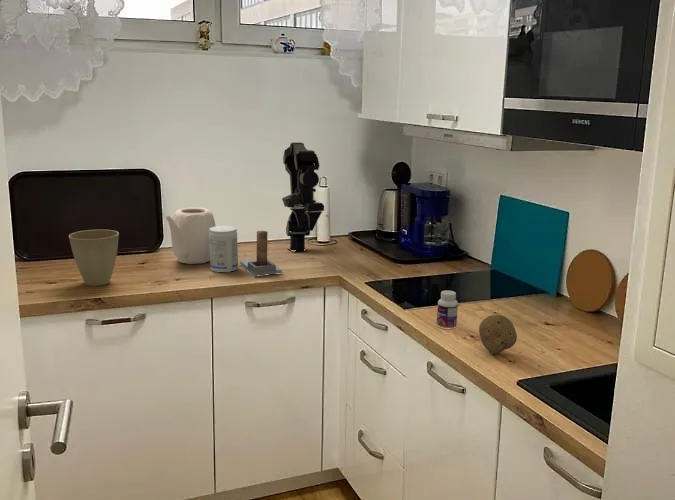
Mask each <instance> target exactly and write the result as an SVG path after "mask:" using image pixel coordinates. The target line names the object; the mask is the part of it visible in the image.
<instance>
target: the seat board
mask: <svg viewBox="0 0 675 500" xmlns="http://www.w3.org/2000/svg"><path fill="white" fill-rule="evenodd" d="M239 261H240V262H239V265H240V264H241V265H242V266H243V267H244V268H245V269H247V270H248V271H249V272H250V273H251V274H252V275H253V276H257V275H265V274H276V273H282V274H283V270H282V269H281V268H280V267H278V266H277V265H276V264H275V263H274V262H272V261H271V260H270V259H268V258H267V265H266V266H257V259H248V260H247V259H246V260H239ZM241 265H240V266H241ZM242 266H241V267H242ZM243 267H242V268H243ZM244 268H243V269H244ZM245 269H244V270H245ZM247 270H246V271H247ZM248 271H247V272H248ZM249 272H248V273H249ZM250 273H249V274H250ZM251 274H250V275H251ZM252 275H251V276H252ZM253 276H252V277H253ZM257 277H258V276H257Z"/></svg>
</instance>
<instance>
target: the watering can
mask: <svg viewBox="0 0 675 500" xmlns="http://www.w3.org/2000/svg"><path fill="white" fill-rule="evenodd" d="M165 219H166V220H167V222H168V225H169V229H170V230H169V231H170V237H171V239H170V240H171V247H172V253H173V255H174V256H175V257H176V258H177V260H178V262H179V263H181V264H188V265H196V264H201V263H202V264H205V263H207V262H210V245H209V229H210V228H212V227H215V226H217V225H216V222H215V217H214V215H213V212H212V210H210V209H208V208H205V207H184V208H179V209H177V210H176V211H174V214H173V215H172V217H171V215H167V216H165Z"/></svg>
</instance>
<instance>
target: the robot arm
mask: <svg viewBox="0 0 675 500" xmlns="http://www.w3.org/2000/svg"><path fill="white" fill-rule="evenodd" d="M282 163H283V165H284V169H285V171H286V172H287V174H288V175H289V182H290V183H289V184H290V185H289V186H290V194H288V195H286V196H284V197H282V199H281V200H282V202H283V205H284V207H285V208H289V210H290V211H291V212H290V214H289V216H288V220H287V221H286V228H285V234H286V236H287V237H289V238H290V239H289V244H290V245H289V247H290V249H291V250H296V251H303V252H305V251H304V249H305V248H306V236H307V237H309V236H310V235H311V232H312V231H313V230H314V229H315V226H316V224H317V222H318V220H319V218H320V216H321V214H323V212H324V211H325V205H324V204H323V202H317V201H316V200H315V199H314V193H316V192H317V191H316V190H317V189H316V188H315V187H316V186H317V185H318V184H319V182H320V178H319V175H318V173H317V172H315V171H318V170H319V169H320V162H319V157H318V154H317V153H316V152H315V151H314V150H313V149H312V150H309V149H307V148H306V146H305V143H304V142H290V143H289V146H288V147H287V148H286V149H284V151H283V157H282Z"/></svg>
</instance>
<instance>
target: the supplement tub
mask: <svg viewBox="0 0 675 500" xmlns="http://www.w3.org/2000/svg"><path fill="white" fill-rule="evenodd" d="M209 245H210V261H209V264H210V265H209V267H210V270H211V271H213V272H214V271H215V273H219V272H227V273H232V272H231V271H233V272H235V271H237V270H238V268H239V259H238V258H239V256H238V255H239V254H238V253H239V251H238V250H239V249H238V231H237V227H235V226H232V225H216V226H215V227H212V228H210V229H209Z"/></svg>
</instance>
